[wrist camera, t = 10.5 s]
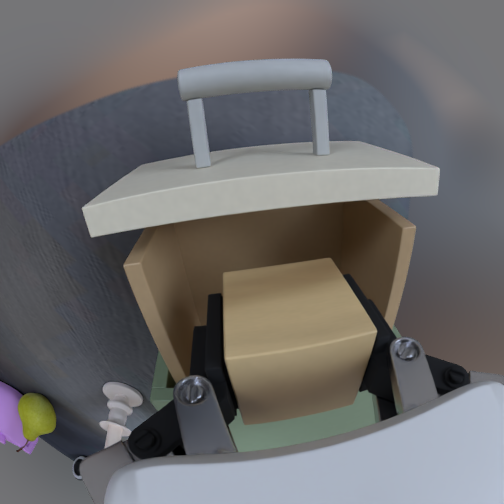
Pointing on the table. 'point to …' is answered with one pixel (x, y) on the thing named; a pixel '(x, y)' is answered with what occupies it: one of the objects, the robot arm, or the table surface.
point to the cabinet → (279, 430)
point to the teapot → (12, 419)
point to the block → (294, 340)
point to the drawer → (258, 207)
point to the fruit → (36, 416)
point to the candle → (119, 410)
